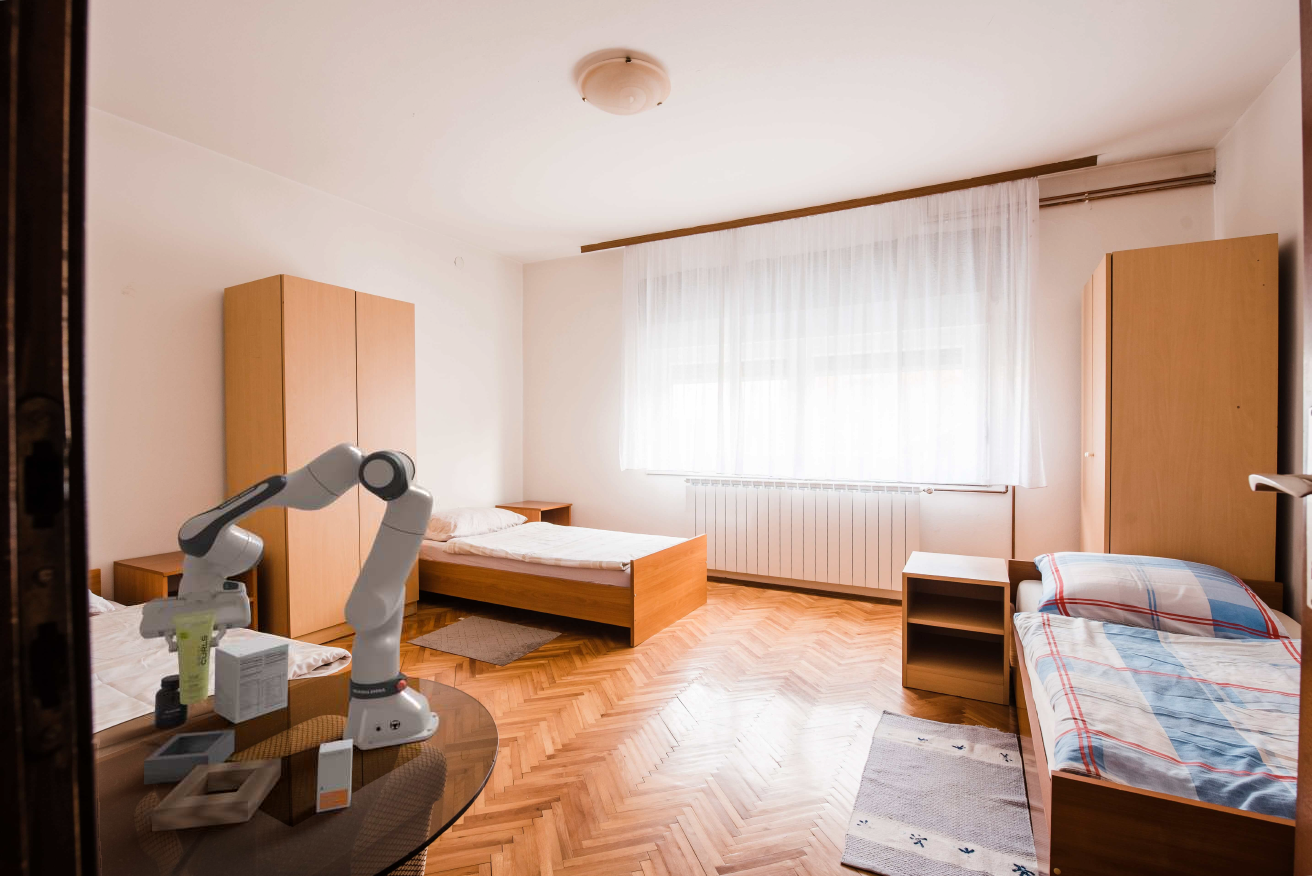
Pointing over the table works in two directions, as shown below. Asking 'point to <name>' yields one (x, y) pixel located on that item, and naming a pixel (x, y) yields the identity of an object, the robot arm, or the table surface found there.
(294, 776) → the table surface
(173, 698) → the supplement bottle
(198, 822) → the walnut socket block
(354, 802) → the table surface
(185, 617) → the tube
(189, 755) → the graphite collar stand
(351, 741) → the skincare box
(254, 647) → the supplement box
